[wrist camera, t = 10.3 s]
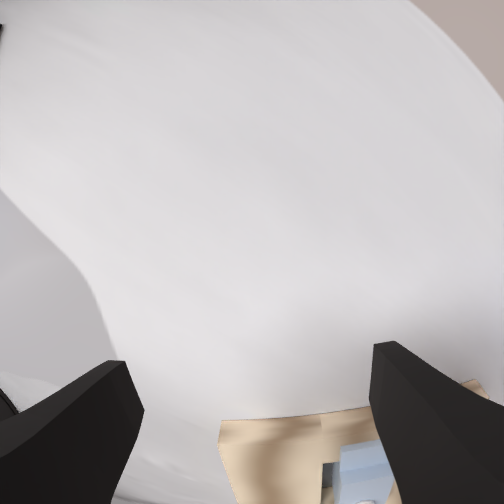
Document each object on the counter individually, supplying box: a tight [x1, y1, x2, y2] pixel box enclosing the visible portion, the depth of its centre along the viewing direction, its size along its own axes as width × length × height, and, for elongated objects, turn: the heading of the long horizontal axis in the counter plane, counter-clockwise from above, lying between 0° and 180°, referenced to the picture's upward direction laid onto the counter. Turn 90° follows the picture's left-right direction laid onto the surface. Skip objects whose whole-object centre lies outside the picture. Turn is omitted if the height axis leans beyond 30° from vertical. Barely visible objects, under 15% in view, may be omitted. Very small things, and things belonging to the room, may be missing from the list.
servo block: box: [332, 439, 395, 504], centre depth 19 cm, size 4×11×5 cm, turn 7°
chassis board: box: [217, 379, 489, 504], centre depth 20 cm, size 20×14×2 cm
